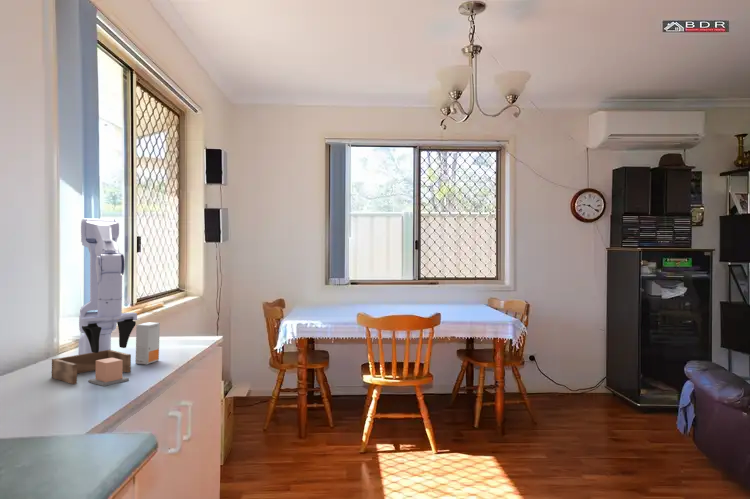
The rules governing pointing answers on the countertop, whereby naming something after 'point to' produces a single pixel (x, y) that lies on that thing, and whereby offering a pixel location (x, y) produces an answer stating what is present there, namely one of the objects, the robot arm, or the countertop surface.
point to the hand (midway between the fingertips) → (109, 349)
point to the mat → (108, 382)
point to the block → (109, 369)
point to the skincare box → (147, 342)
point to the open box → (85, 364)
